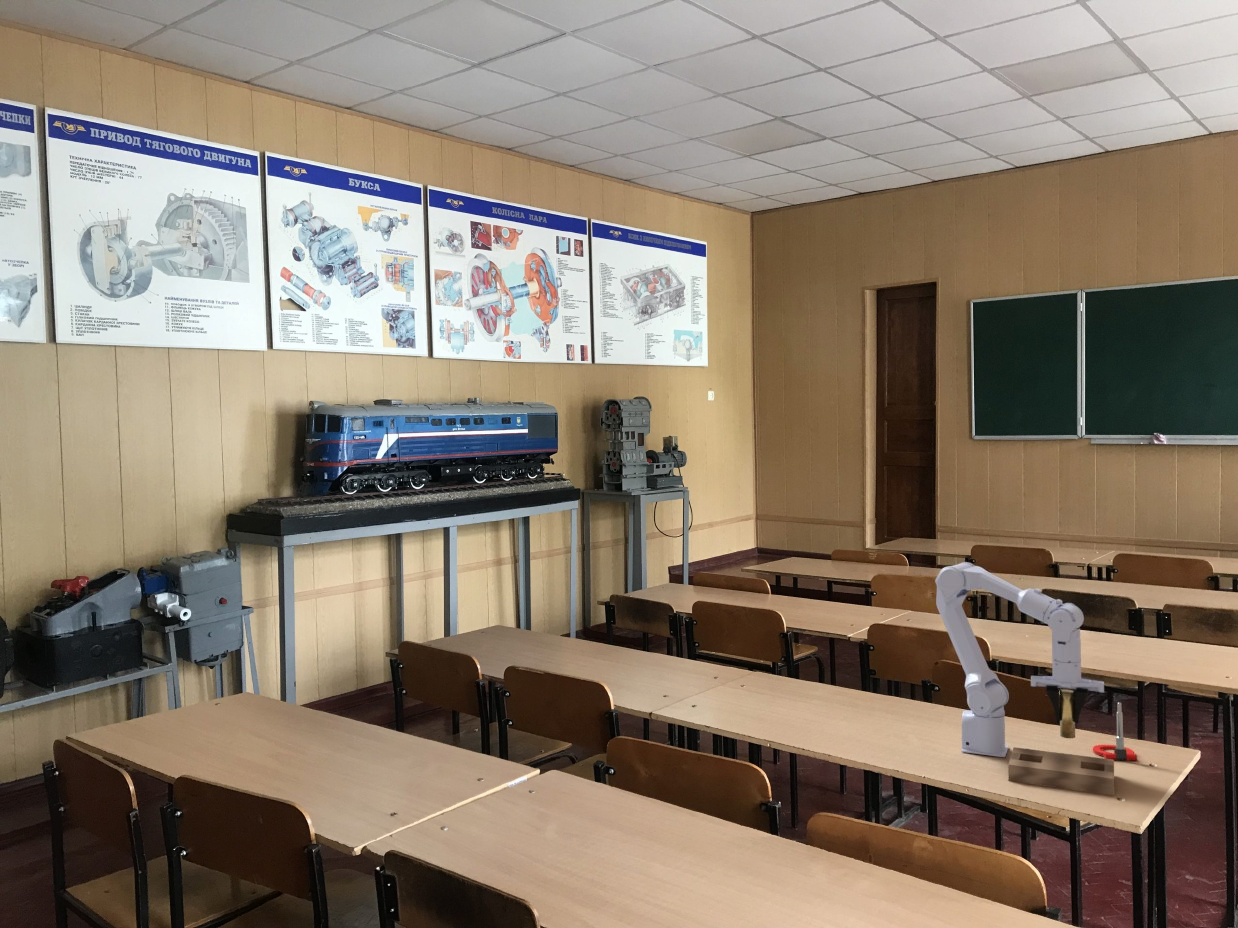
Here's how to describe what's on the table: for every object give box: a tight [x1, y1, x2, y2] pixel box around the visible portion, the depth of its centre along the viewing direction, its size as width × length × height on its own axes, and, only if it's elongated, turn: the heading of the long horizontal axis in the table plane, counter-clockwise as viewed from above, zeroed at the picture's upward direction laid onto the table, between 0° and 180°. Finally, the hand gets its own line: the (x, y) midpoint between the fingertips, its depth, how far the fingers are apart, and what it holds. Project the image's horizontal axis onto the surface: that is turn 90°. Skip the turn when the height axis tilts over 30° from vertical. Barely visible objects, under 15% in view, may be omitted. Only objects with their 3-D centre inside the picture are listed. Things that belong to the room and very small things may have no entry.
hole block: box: [1007, 746, 1115, 796], centre depth 201 cm, size 20×12×4 cm, turn 62°
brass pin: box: [1059, 689, 1076, 739], centre depth 206 cm, size 3×3×10 cm
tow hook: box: [1092, 702, 1138, 761], centre depth 215 cm, size 8×13×9 cm
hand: (1067, 720), depth 206 cm, fingers closed on brass pin, 3 cm apart
